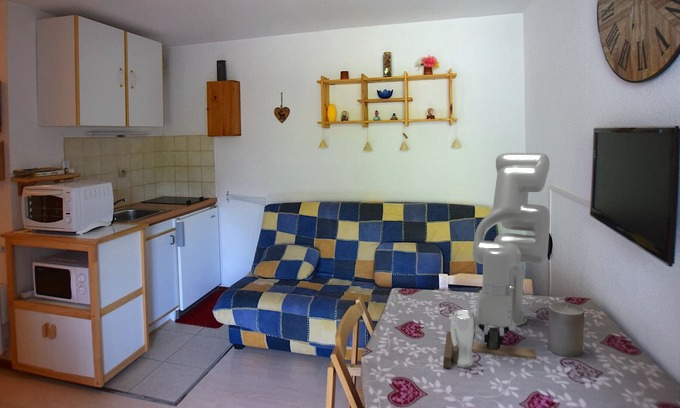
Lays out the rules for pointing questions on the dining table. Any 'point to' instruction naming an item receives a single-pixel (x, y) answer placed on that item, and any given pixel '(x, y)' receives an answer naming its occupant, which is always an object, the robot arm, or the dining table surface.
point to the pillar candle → (565, 329)
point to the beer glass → (462, 337)
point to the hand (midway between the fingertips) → (493, 345)
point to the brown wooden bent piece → (488, 348)
